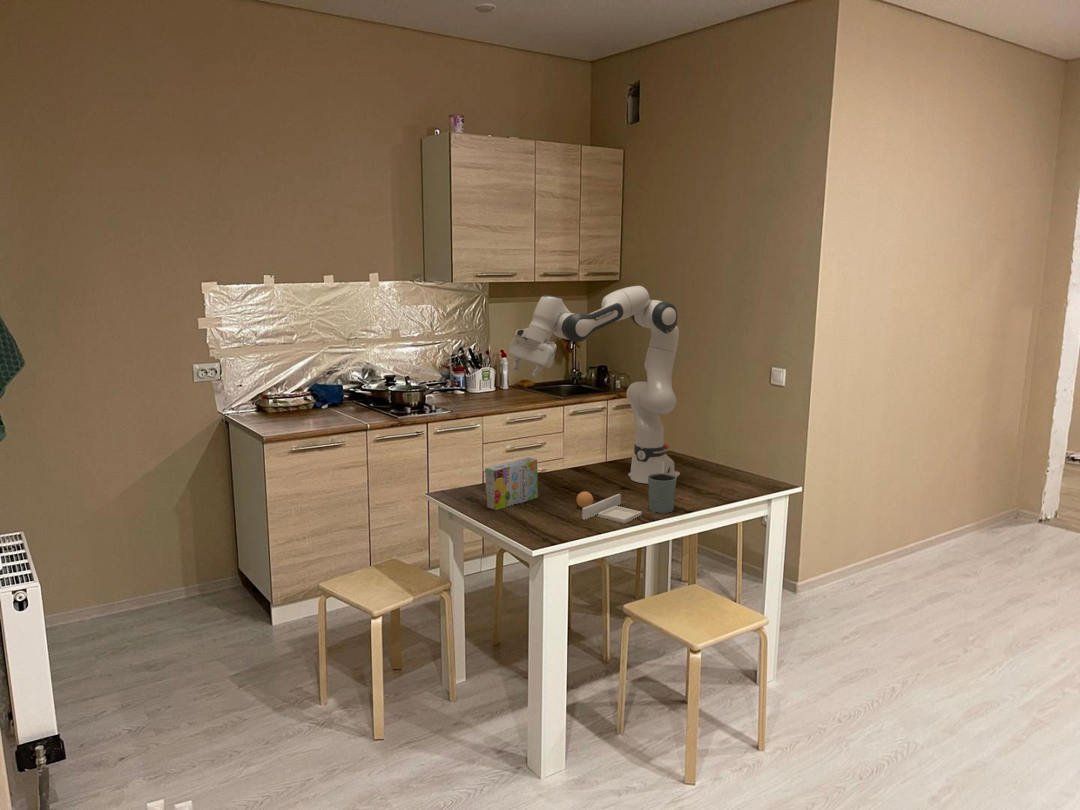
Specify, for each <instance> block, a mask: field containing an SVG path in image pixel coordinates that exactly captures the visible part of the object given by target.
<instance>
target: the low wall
mask: <svg viewBox="0 0 1080 810" xmlns="http://www.w3.org/2000/svg"><path fill="white" fill-rule="evenodd" d="M621 500H622V494H620V493H618V494H614V495H612V496H609V497H607V498H605V499H602V500H600V501H598V502H595V503H592V505H590V506H587V507H585V508H581V509H582V510H581V520H582V519H583V521H586V520H588V518H589V519H590V517H591V518H593V517H596V516H598V515H597V514H598V513H599V512H602V511H604V510H606V509H609V508H611V507H614V506H618V505H619V506H621V505H622V503H621V502H622V501H621ZM620 504H621V505H620ZM595 515H596V516H595ZM585 519H586V520H585Z"/></svg>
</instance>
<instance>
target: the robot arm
mask: <svg viewBox="0 0 1080 810" xmlns="http://www.w3.org/2000/svg"><path fill="white" fill-rule="evenodd" d="M532 315H533V316H532V319H531V322H530V323H529V325H528V327H526V328H521V329H516V330H515V333H514V335H515V336H514V337H513V338H512V340H511V342H510V345H509V347H508V350H507V352H508V355H509V356H511V357H513V360H512V361H513V365H512V370H513V371H515V372H518V371H519V370H520V368H521V367H520V366H519V363H520V362H521V360H522V361H526V362H528V363H532V364H535V368H534V370H531V371H530V376H531V377H533V378H537V376H538V373H540V372H541V371H542V370H543V368H547V369H550V368H551V367H553V363H554V360H555V356H556V351H557V344H556V343H555V342H553V341H551V337H552V335H555V336H556V337H558V338H560V339H565V340H569V341H571V342H575V343H580V342H584V341H585V340H587V339H588V338H589V337H590V336H591V335H592V334H593V333H595V332H596V331H597V330H600V329H602V328H604V327H607V326H608V325H611V324H613V323H615V322H618V321H622V320H625V319H627V318H630V320H631V322H632V323H634V324H635V325H636V326H638V327H640V328H645V329H650V333H651V338H650V341H649V345H648V348H647V351H646V357H645V360H644V369H645V371H646V379H647V380H646V381H635V382H633V383H631V384H630V385H629V386H628V387H627V389H626V399H627V401H628V403H629V404H630V407H631V410H632V415H633V419H634V424H635V444H634V447H633V454H634V455H632V458H631V464H630V465H631V466H630V472H628V474H627V475H628V477H630V480H631V481H633V482H636V483H638V484H639V483H640V484H646V485H648V476H649V475H651V474H670V475H674V476H676V477H677V478H678V477H680V476H681V472H679V471H677V470H675V461H674V460H673V459H672V458H671V457H670V456H668V454H666V453H667V452H666V450H667V451H668V450H669V447H670V445H669V444H666V443H664V439H665V437H664V436H665V435H664V433H665V428H664V424H663V423H662V420H661V418H660V416H659V415H664V414H665V415H667V414H669V413H671V412H672V411H673V410H674V408H675V407H676V404H677V396H676V394H675V393H674V390H673V384H672V383H673V381H672V379H673V378H672V375H673V368H674V364H675V360H676V356H677V355H676V354H677V351H678V346H679V338H680V329H679V327H678V326H677V324H678V319H679V318H678V310H677V308H676V306H675V305H674V304H672V303H670V302H669V301H663V300H657V299H651V298H650V294H649V291H648V289H646V287H644V286H642V285H633V286H632V285H631V286H627V287H624V288H620V289H617V290H614V291H612V292H610V293H608V294H607V295H605V296H604V297H603V298H602V301H601V308H600V309H597V310H594V311H593V312H590V313H588V314H587V313H573V312H571V311H570V310H568V308H567V306H566V305H565V303H564V302H563V299H562V298H561V297H560V296H555V295H550V294H545V295H542V296H541V298H539V301H538V302H537V304H536V307H535V308H534V311H533V314H532ZM679 475H680V476H679Z"/></svg>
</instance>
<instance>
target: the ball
mask: <svg viewBox="0 0 1080 810" xmlns="http://www.w3.org/2000/svg"><path fill="white" fill-rule="evenodd" d="M575 500H576V503H577V505H578V507H579V508H581V509H582V508H585V507H587V506H590V505H592V504H594V497H593V495H592V494H591V492H589V491H586V490H585V491H582V492H579V493H578V495H577V496H576V499H575Z"/></svg>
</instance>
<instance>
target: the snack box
mask: <svg viewBox="0 0 1080 810" xmlns="http://www.w3.org/2000/svg"><path fill="white" fill-rule="evenodd" d="M484 474H485V475H484V476H485V477H484V478H485V503H486V505H485V506H486V508H487V509H489V508H490V510H493V511H498V509H499V510H501V509H502V510H503V509H504V508H508V506H509V507H512V506H515V505H514V504H516V505H519V504H522V503H525V502H529V501H532V500H535V499H538V498H539V490H538V489H539V487H538V484H539V483H538V459H537V458H532V457H525V458H520V459H516V460H512V461H508V462H504V463H500V464H496V465H493V466H488V467H485V468H484ZM518 503H519V504H518ZM511 505H512V506H511Z"/></svg>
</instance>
